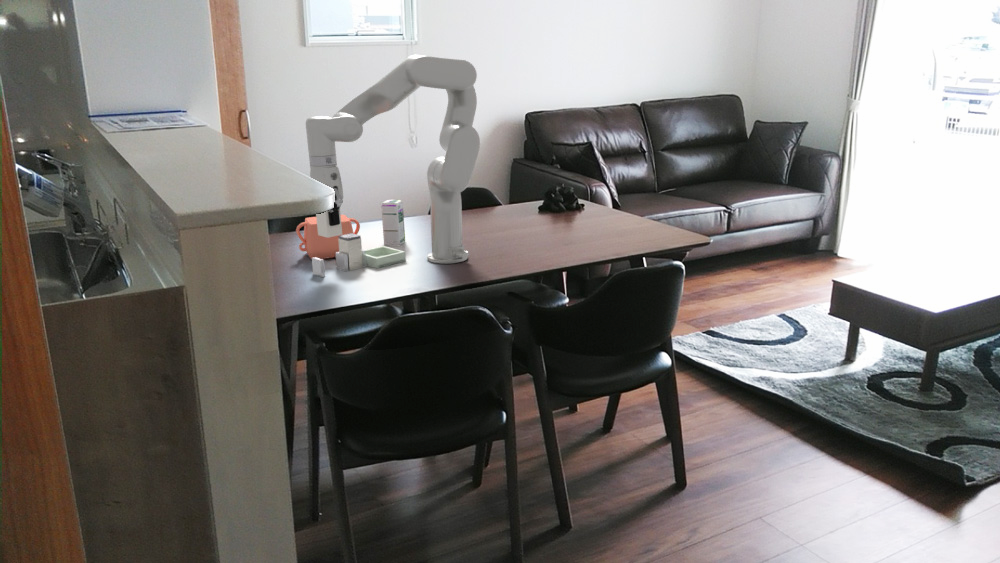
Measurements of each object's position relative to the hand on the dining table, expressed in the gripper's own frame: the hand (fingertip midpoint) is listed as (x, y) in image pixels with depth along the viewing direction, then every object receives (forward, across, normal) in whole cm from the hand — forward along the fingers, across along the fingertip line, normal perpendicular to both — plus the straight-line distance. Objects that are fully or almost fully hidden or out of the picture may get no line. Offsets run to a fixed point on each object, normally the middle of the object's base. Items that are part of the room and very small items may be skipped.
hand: (329, 223), depth 231 cm
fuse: (+4, 0, 0) cm, 4 cm away
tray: (+15, -1, -17) cm, 23 cm away
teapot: (+15, +20, -12) cm, 28 cm away
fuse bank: (+15, 0, -3) cm, 15 cm away
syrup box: (+16, +14, -34) cm, 40 cm away
